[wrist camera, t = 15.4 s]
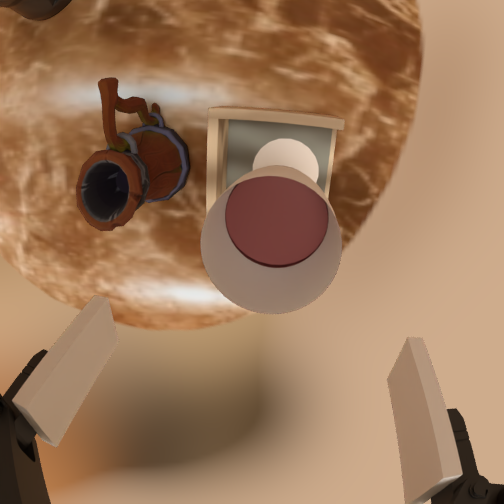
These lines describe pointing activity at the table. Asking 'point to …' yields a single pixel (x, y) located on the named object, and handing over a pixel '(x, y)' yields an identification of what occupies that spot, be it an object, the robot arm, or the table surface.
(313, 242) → the wineglass
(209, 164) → the square tray
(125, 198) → the brown pitcher
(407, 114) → the table surface
